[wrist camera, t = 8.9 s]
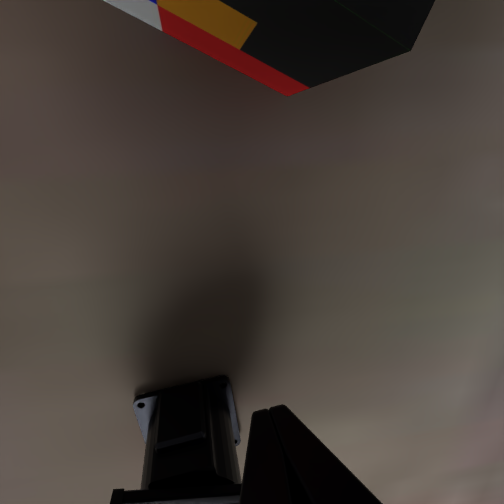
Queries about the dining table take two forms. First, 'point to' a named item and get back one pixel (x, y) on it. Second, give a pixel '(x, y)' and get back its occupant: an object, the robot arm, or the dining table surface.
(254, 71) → the puzzle toy
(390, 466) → the dining table surface
